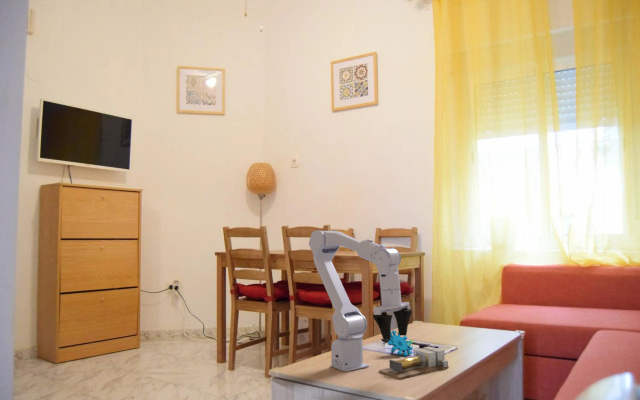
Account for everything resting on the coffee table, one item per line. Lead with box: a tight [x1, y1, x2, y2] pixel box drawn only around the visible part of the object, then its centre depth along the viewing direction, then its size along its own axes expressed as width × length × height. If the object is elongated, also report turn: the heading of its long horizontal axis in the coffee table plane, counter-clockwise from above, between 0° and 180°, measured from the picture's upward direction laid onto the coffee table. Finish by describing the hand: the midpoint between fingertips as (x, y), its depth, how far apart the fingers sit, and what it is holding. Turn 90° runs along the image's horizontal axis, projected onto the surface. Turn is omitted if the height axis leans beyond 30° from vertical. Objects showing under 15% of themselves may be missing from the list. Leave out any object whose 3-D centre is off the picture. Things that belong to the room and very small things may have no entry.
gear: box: [387, 329, 414, 357], centre depth 165 cm, size 11×6×10 cm
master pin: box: [389, 356, 422, 371], centre depth 143 cm, size 10×4×2 cm, turn 124°
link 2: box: [422, 346, 449, 367], centre depth 149 cm, size 3×8×4 cm, turn 34°
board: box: [378, 362, 449, 380], centre depth 145 cm, size 20×9×1 cm, turn 124°
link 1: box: [412, 348, 436, 368], centre depth 148 cm, size 3×8×4 cm, turn 34°
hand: (395, 337), depth 139 cm, fingers open, 7 cm apart
